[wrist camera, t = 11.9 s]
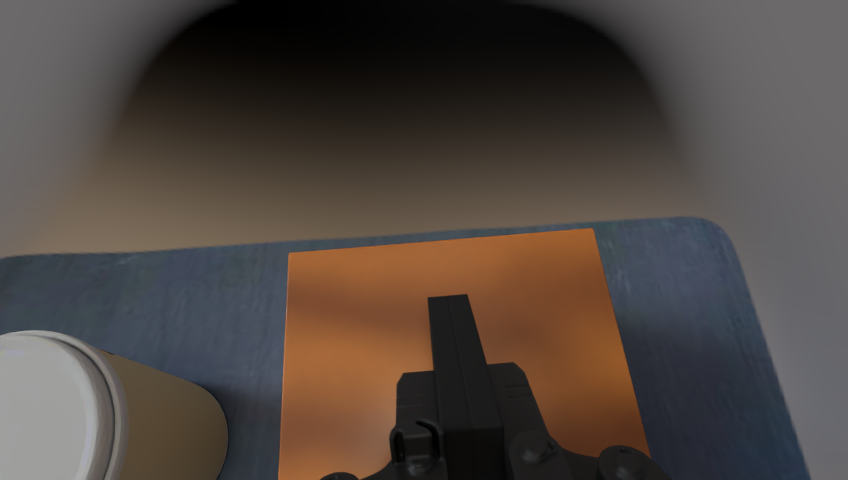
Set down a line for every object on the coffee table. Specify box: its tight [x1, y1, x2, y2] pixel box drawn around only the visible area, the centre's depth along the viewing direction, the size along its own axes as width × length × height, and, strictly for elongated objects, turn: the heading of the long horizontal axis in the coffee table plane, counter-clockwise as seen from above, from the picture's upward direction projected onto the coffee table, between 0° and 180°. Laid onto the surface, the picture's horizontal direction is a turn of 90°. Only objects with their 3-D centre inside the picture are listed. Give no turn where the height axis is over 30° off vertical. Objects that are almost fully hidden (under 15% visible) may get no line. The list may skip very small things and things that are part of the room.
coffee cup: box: [0, 330, 228, 480], centre depth 21 cm, size 9×9×12 cm
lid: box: [278, 228, 651, 480], centre depth 17 cm, size 16×14×1 cm
